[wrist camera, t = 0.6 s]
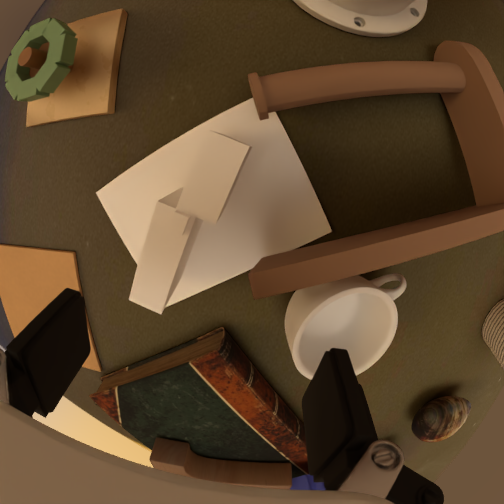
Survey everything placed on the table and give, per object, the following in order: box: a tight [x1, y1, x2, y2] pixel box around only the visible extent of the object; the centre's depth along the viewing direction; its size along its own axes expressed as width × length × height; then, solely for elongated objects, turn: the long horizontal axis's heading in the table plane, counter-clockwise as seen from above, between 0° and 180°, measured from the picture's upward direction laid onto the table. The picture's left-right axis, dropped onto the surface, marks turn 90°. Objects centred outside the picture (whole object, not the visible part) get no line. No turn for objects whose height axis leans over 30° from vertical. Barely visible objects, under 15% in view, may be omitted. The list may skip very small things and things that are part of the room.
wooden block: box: [150, 437, 292, 490], centre depth 25 cm, size 7×3×15 cm
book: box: [89, 327, 309, 478], centre depth 28 cm, size 17×4×25 cm
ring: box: [5, 18, 78, 102], centre depth 12 cm, size 6×6×2 cm
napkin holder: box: [96, 98, 332, 314], centre depth 18 cm, size 15×11×6 cm
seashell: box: [412, 396, 471, 442], centre depth 26 cm, size 10×6×8 cm
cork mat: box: [0, 244, 102, 372], centre depth 25 cm, size 14×14×1 cm
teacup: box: [285, 273, 406, 380], centre depth 21 cm, size 10×8×5 cm
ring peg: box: [18, 9, 128, 127], centre depth 14 cm, size 9×9×7 cm
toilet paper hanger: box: [247, 41, 504, 300], centre depth 15 cm, size 22×13×10 cm, turn 104°
